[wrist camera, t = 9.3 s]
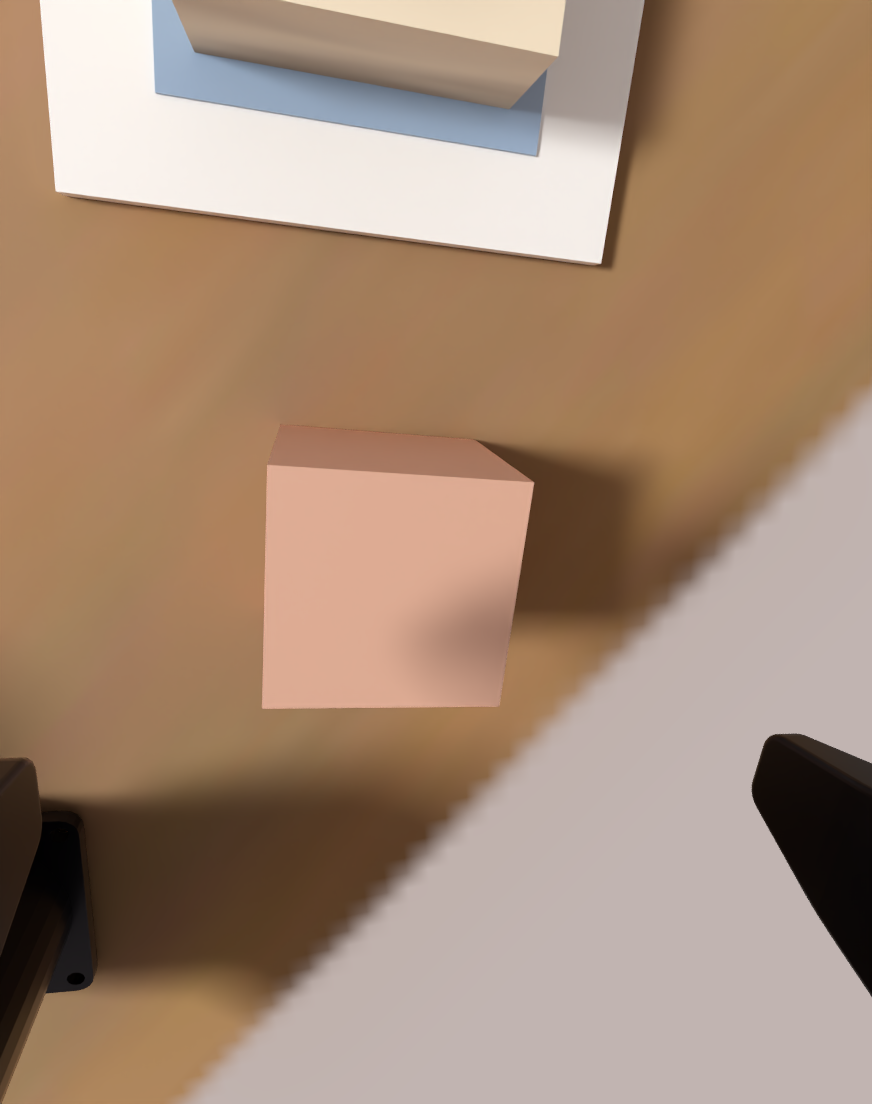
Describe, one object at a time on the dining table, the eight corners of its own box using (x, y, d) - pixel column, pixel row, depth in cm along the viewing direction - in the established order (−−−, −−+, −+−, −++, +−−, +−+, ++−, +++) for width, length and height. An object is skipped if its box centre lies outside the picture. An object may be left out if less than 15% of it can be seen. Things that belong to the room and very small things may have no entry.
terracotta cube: (452, 610, 19) (499, 706, 14) (275, 606, 18) (262, 708, 13) (474, 438, 17) (534, 482, 12) (280, 423, 16) (266, 464, 11)
